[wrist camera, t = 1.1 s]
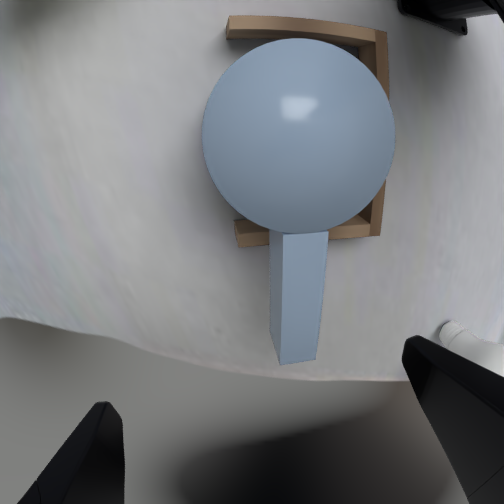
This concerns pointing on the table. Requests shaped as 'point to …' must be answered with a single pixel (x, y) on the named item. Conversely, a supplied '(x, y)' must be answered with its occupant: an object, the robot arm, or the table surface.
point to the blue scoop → (298, 165)
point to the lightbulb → (473, 347)
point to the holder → (370, 55)
